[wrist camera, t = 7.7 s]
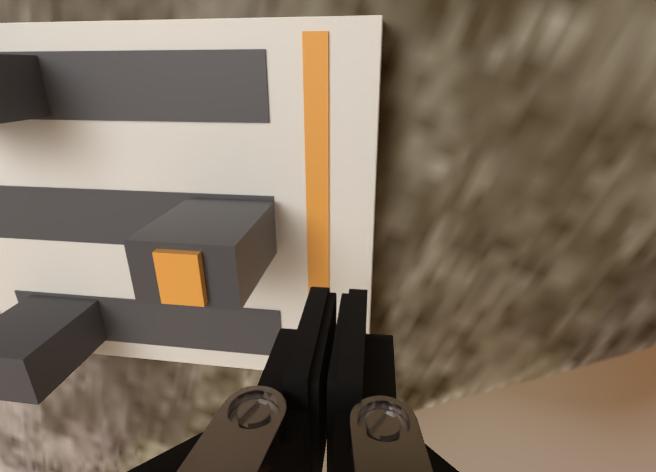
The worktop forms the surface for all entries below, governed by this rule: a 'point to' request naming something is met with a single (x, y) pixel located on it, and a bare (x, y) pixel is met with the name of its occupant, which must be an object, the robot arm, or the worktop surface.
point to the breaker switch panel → (177, 178)
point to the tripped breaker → (203, 253)
